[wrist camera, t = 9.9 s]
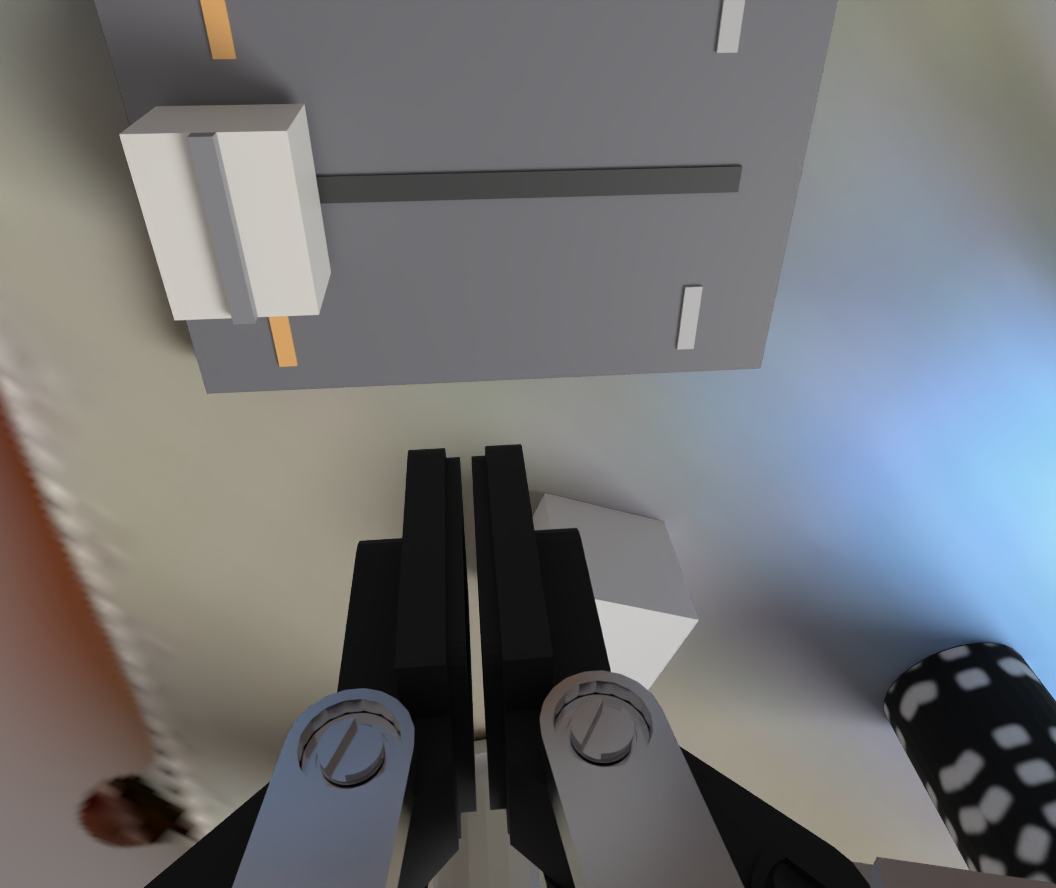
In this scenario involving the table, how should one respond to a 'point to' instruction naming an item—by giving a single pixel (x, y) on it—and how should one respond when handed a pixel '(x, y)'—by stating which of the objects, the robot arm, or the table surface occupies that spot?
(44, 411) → the table surface
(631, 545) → the white cube
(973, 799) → the spotted tube
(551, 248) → the console
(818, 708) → the table surface
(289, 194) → the fader
